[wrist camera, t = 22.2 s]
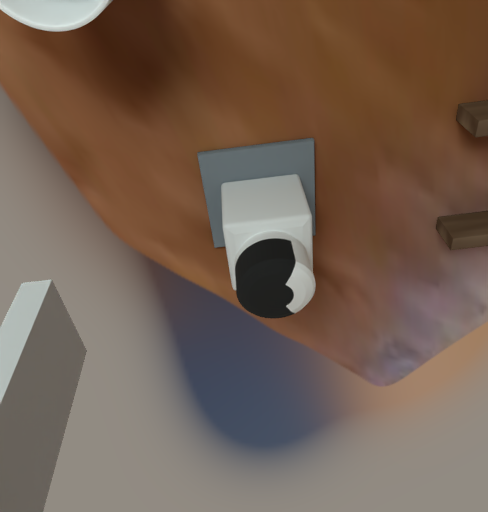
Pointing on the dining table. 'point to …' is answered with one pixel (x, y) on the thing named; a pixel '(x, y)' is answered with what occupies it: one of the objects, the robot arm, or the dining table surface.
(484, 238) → the rack
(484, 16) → the dining table surface
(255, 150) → the pad
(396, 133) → the dining table surface
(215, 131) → the dining table surface
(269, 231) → the container
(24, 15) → the mug
